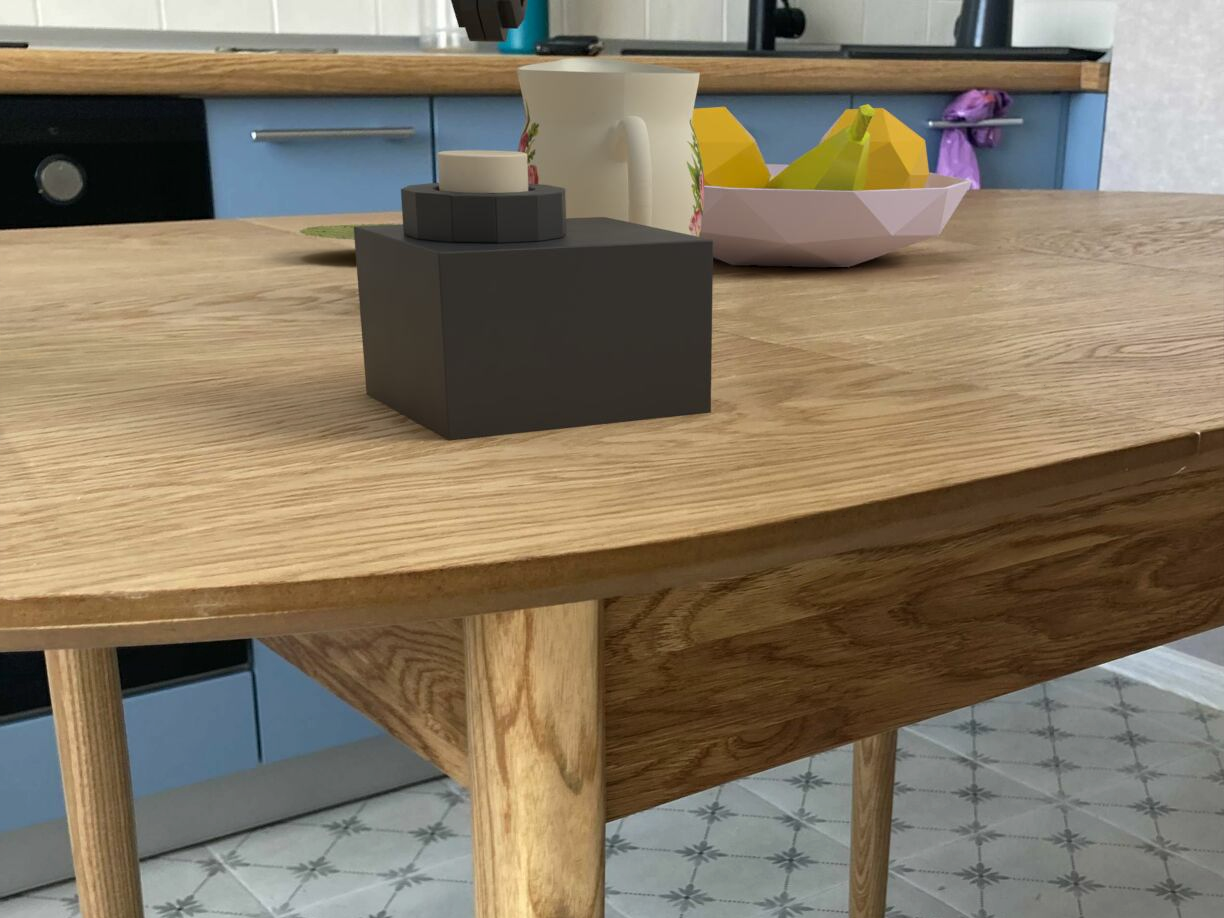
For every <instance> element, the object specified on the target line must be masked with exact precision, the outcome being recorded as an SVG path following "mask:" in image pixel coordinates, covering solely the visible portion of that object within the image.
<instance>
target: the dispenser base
mask: <svg viewBox="0 0 1224 918" xmlns="http://www.w3.org/2000/svg"><path fill="white" fill-rule="evenodd" d="M400 197H401V198H400V199H401V213H402V223H399V224H400V225H373V226H355V227H354V238H355V240H354V249H355V250H354V251H355V263H356V274H357V286H358V287H357V289H358V290H357V291H358V301H359V302H358V304H359V312H360V313H359V314H360V326H361V327H360V328H361V341H362V353H363V366H364V379H365V391H366V395H367V396H368V397H369V398H372V399H373V400H374V401H377V402H379V403H381V404H383V405H384V406H386V407H387V408H390V409H391V410H393V411H395V412H397V413H399V414H401V415H402V416H404V417H406V418H407V419H409V420H411V421H413V422H414V423H416V424H419V425H420V426H422V427H424V428H425V429H427V430H429V431H431V432H433V433H434V434H436V435H437V436H439V437H442V438H443V439H445V440H447V441H451V442H452V441H461V440H470V439H480V438H489V437H496V436H505V435H506V436H509V435H516V434H517V435H518V434H525V433H526V434H527V433H534V432H544V431H545V432H546V431H553V430H563V429H571V428H581V427H591V426H601V425H611V424H618V423H627V422H628V423H629V422H636V421H637V422H638V421H648V420H657V419H665V418H674V417H683V416H693V415H702V414H711V413H712V362H713V361H712V360H713V359H712V357H713V356H712V353H713V351H712V349H713V347H712V346H713V289H714V288H713V286H714V284H713V283H714V282H713V280H714V279H713V278H714V276H713V275H714V268H713V267H714V257H713V240H712V239H707V238H702V237H698V236H693V235H688V234H683V233H679V232H674V231H669V230H664V229H660V228H655V227H650V226H645V225H640V224H636V223H631V222H626V221H621V220H617V219H612V218H607V217H590V218H566V198H565V189H564V188H561V187H555V186H550V185H541V184H528V191H524V192H505V193H467V192H451V191H439V182H432V183H431V182H430V183H421V184H420V183H419V184H410V185H407V186H405V187H403V188H400Z"/></svg>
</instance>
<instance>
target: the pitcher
mask: <svg viewBox="0 0 1224 918" xmlns="http://www.w3.org/2000/svg"><path fill="white" fill-rule="evenodd" d="M516 73H517V78H518V82H519V87H520V91H521V96H522V101H523V106H524V107H523V108H524V114H525V121H524V125H523V129H522V132H521V135H520V139H519V144H518V149H517V152H523V153H526V154H527V163H528V184H541V185H550V186H555V187H561V188H564V189H565V198H566V218H590V217H607V218H612V219H617V220H621V221H626V222H631V223H636V224H640V225H645V226H650V227H655V228H660V229H664V230H669V231H674V232H679V233H683V234H688V235H693V236H698V237H699V234H700V229H701V223H702V216H703V205H704V170H703V163H702V157H701V153H700V149H699V144H698V141H697V138H696V134H695V131H694V128H693V124H692V118H693V110H694V109H695V103H696V99H697V98H696V97H697V94H698V93H697V92H698V89H699V82H700V77H701V76H700V72H698V71H694V70H688V69H682V68H677V67H672V66H664V65H658V64H657V65H656V64H652V63H651V64H650V63H643V62H636V61H628V60H624V59H623V60H622V59H615V58H604V57H603V58H602V57H565V58H561V59H558V60H551V61H544V62H537V63H530V64H525V65H523V66H522V65H521V66H519V67H517V68H516Z"/></svg>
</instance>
